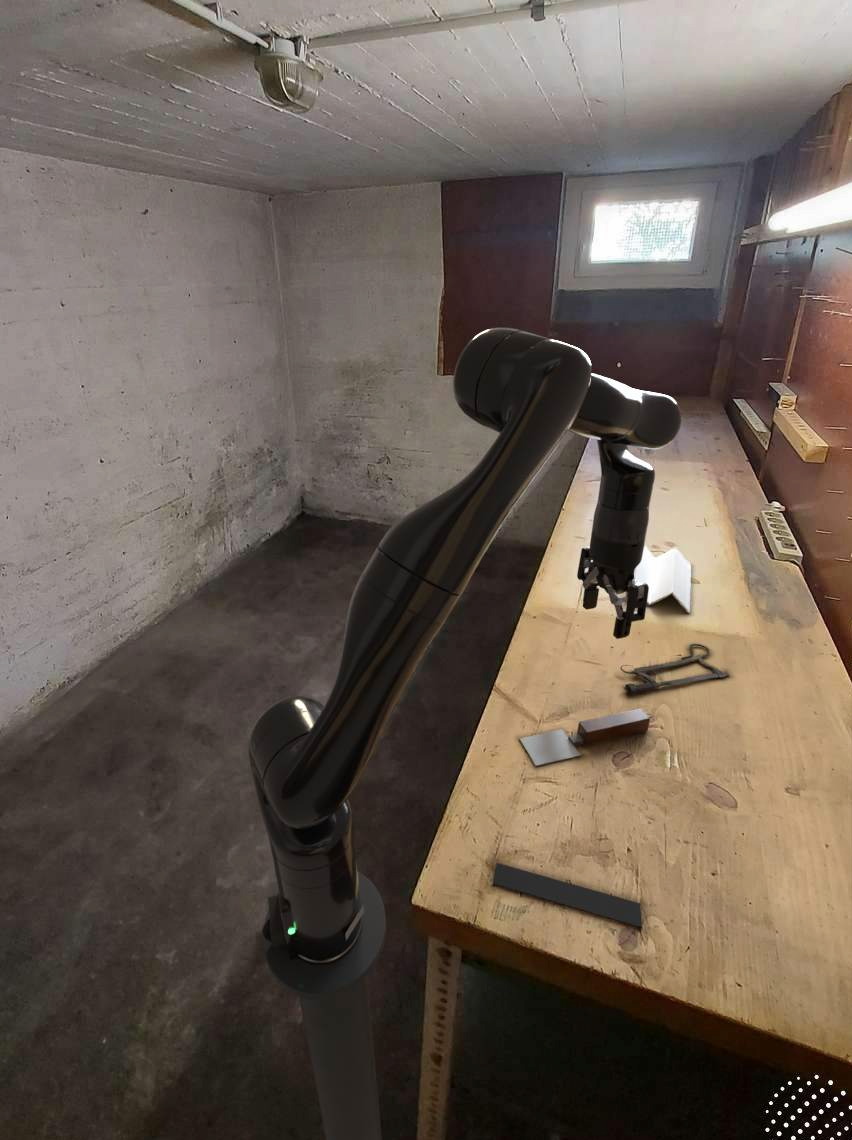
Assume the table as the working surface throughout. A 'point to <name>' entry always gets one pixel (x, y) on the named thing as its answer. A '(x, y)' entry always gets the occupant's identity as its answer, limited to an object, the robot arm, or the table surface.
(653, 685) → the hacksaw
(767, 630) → the table surface
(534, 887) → the edge strip
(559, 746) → the scraper
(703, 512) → the table surface
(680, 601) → the z bracket
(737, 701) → the table surface
